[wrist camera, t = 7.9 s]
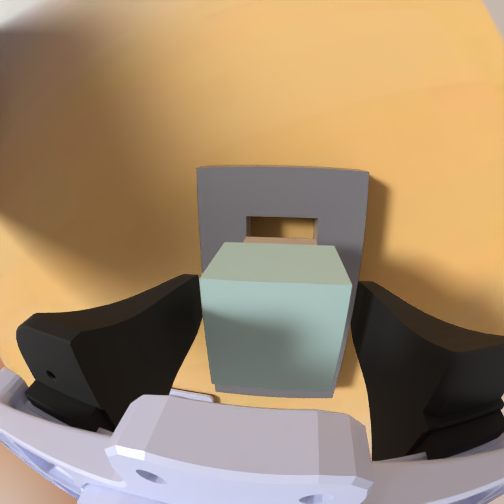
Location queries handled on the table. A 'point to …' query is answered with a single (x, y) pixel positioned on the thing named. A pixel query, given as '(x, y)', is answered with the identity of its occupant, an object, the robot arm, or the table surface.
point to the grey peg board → (285, 205)
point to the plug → (275, 313)
